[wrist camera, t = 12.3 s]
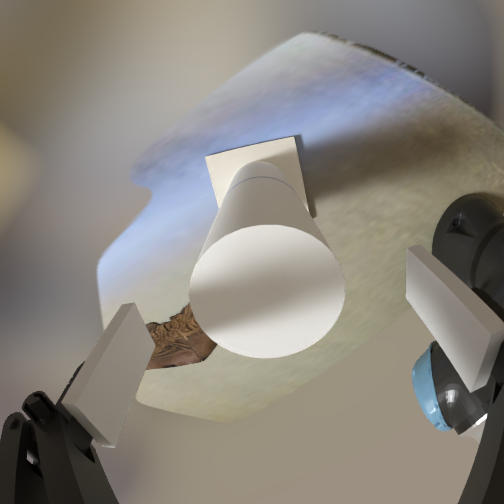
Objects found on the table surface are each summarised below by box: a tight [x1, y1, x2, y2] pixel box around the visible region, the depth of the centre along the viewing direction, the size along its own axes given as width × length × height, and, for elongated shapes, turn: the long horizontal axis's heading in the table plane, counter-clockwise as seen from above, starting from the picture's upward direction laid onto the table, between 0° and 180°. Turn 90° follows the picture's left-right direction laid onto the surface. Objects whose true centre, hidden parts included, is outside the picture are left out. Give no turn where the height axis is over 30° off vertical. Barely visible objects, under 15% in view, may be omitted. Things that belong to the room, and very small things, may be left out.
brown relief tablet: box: [146, 303, 217, 370], centre depth 47 cm, size 26×11×1 cm, turn 122°
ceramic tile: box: [205, 137, 309, 212], centre depth 37 cm, size 11×11×1 cm
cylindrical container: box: [189, 161, 345, 358], centre depth 25 cm, size 7×7×25 cm
